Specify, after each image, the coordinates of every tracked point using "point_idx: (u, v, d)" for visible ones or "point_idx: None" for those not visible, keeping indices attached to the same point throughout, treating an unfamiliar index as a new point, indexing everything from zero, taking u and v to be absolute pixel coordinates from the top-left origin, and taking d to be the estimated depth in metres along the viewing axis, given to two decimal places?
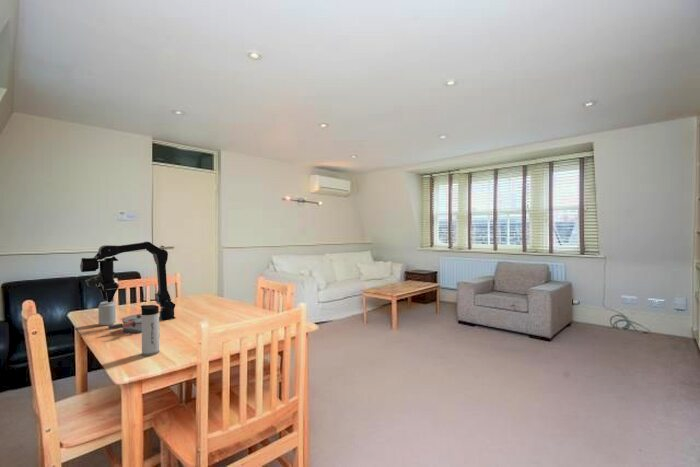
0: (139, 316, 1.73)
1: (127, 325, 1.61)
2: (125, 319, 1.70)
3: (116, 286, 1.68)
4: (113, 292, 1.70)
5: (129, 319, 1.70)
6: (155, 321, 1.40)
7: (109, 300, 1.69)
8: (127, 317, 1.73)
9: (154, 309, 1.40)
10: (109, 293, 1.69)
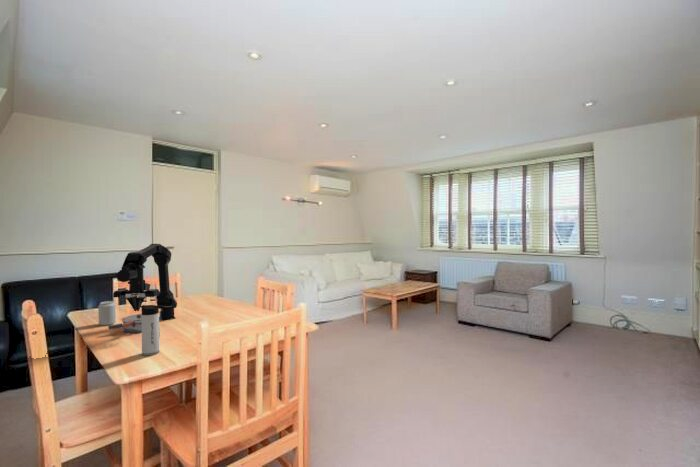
0: (139, 316, 1.73)
1: (127, 325, 1.61)
2: (125, 319, 1.70)
3: None
4: None
5: (129, 319, 1.70)
6: (155, 321, 1.40)
7: None
8: (127, 317, 1.73)
9: (154, 309, 1.40)
10: None
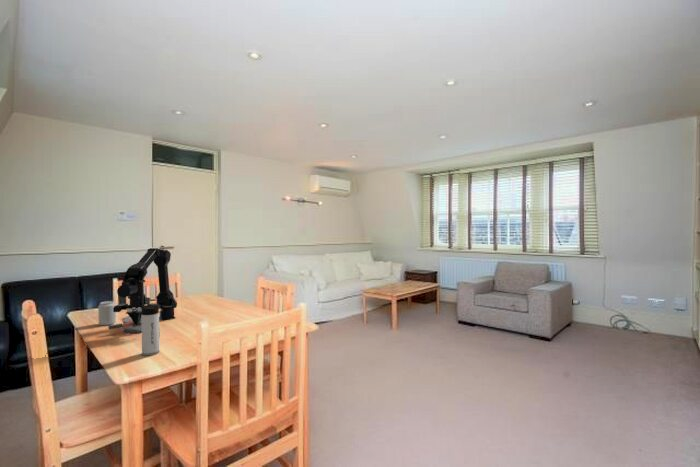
0: None
1: (127, 325, 1.61)
2: (125, 319, 1.70)
3: None
4: None
5: (129, 319, 1.70)
6: (155, 321, 1.40)
7: None
8: (127, 317, 1.73)
9: (154, 309, 1.40)
10: None
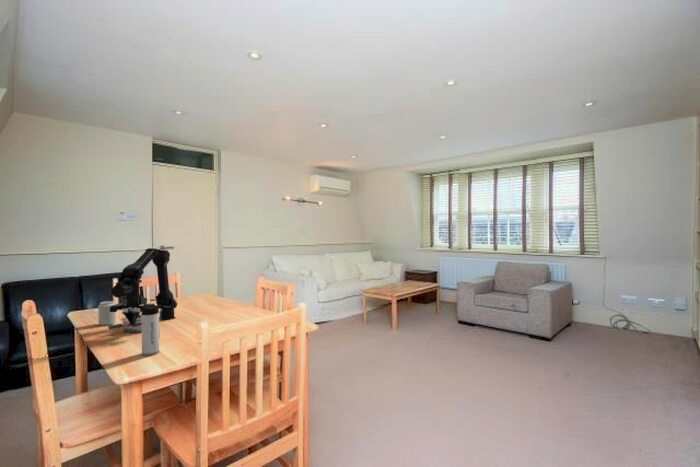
0: (139, 316, 1.73)
1: (127, 325, 1.61)
2: (125, 319, 1.70)
3: None
4: None
5: None
6: (155, 321, 1.40)
7: None
8: None
9: (154, 309, 1.40)
10: None
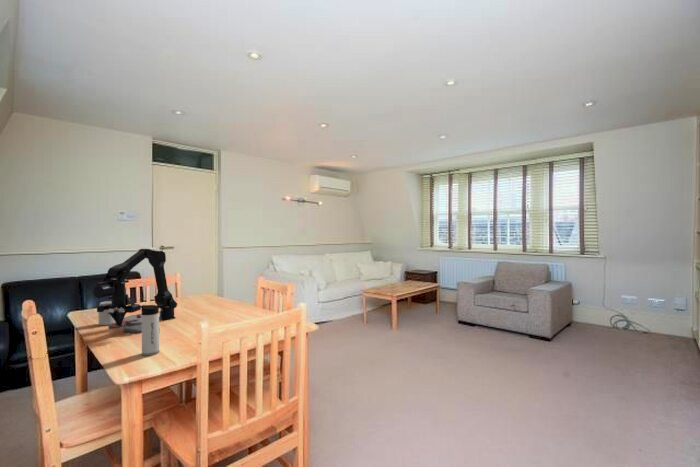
0: (138, 316, 1.73)
1: (113, 325, 1.62)
2: (126, 317, 1.73)
3: None
4: None
5: (128, 318, 1.72)
6: (155, 321, 1.40)
7: None
8: (132, 315, 1.76)
9: (154, 309, 1.40)
10: None
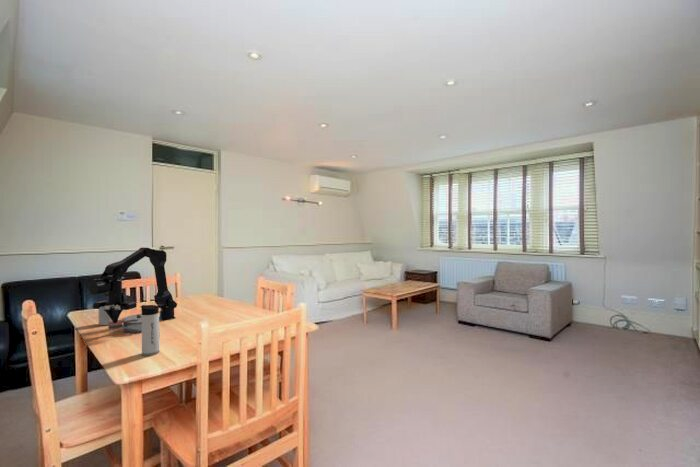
0: (137, 316, 1.73)
1: (109, 323, 1.64)
2: (128, 316, 1.75)
3: None
4: None
5: (129, 317, 1.73)
6: (155, 321, 1.40)
7: None
8: (136, 315, 1.78)
9: (154, 309, 1.40)
10: None
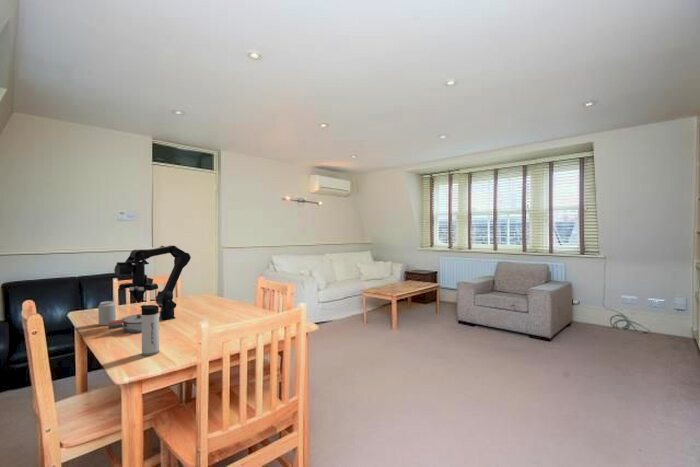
0: (137, 316, 1.73)
1: (109, 323, 1.64)
2: (128, 316, 1.75)
3: None
4: None
5: (129, 317, 1.73)
6: (155, 321, 1.40)
7: None
8: (136, 315, 1.78)
9: (154, 309, 1.40)
10: None
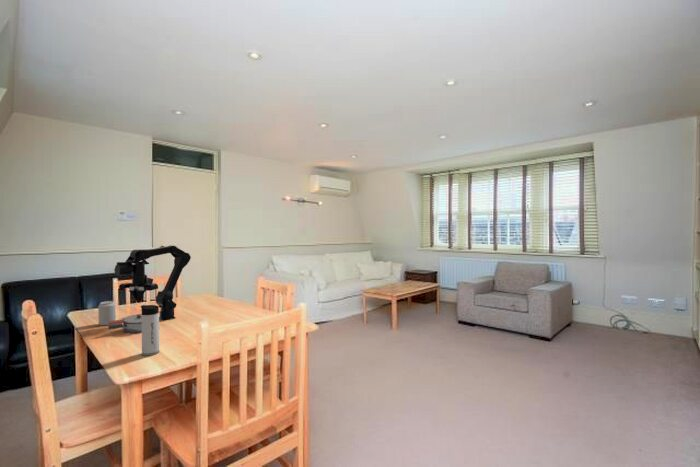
0: (137, 316, 1.73)
1: (109, 323, 1.64)
2: (128, 316, 1.75)
3: None
4: None
5: (129, 317, 1.73)
6: (155, 321, 1.40)
7: None
8: (136, 315, 1.78)
9: (154, 309, 1.40)
10: None
